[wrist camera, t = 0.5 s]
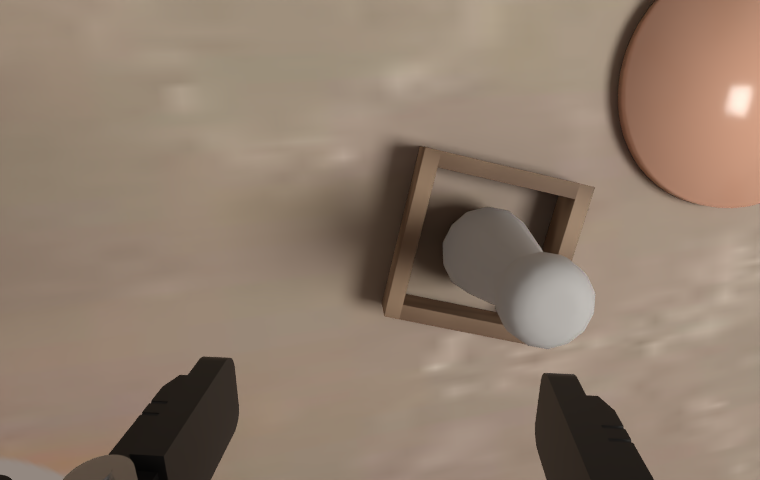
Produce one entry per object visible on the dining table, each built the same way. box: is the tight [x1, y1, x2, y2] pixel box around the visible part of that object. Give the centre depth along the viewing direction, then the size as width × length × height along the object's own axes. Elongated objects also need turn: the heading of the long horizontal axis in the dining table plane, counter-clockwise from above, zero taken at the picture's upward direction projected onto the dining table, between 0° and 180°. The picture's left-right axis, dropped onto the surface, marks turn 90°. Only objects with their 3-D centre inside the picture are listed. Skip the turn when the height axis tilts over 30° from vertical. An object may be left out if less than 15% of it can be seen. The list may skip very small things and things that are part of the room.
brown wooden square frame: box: [382, 146, 595, 344], centre depth 33 cm, size 11×11×2 cm
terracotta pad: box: [618, 0, 760, 208], centre depth 32 cm, size 16×16×1 cm
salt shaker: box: [443, 207, 595, 349], centre depth 28 cm, size 6×6×13 cm
